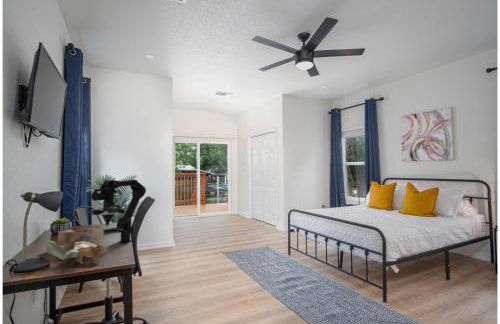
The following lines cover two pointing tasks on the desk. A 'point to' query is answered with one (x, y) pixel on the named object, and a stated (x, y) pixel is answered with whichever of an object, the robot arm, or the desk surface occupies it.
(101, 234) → the desk surface
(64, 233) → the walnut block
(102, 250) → the lion figurine
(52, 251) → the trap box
